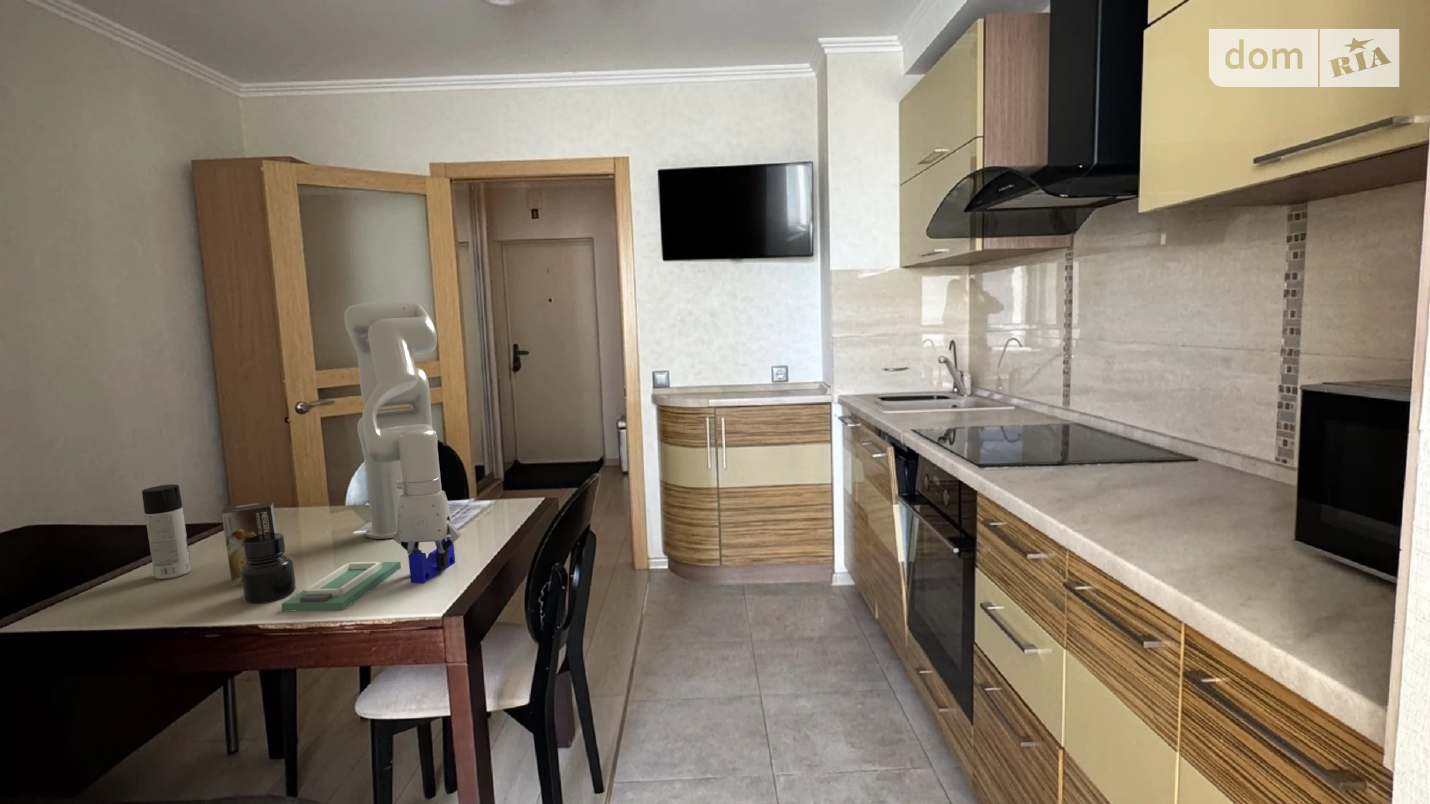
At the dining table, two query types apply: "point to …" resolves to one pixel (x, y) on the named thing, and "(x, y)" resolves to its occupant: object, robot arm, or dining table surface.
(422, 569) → the cable clip
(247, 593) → the ink bottle
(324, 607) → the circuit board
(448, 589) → the dining table surface
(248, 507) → the coffee box
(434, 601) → the dining table surface
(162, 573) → the spray can
